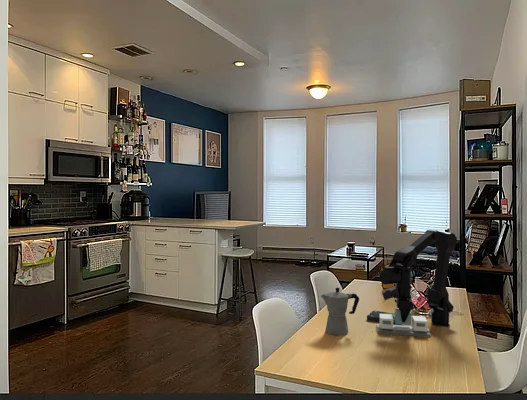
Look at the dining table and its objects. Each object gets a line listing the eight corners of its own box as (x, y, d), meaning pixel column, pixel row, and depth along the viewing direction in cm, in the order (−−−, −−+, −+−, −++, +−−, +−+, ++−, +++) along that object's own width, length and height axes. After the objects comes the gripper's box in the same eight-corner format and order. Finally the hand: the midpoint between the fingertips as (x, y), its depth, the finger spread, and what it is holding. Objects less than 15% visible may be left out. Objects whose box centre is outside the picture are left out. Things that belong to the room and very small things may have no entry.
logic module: (409, 321, 180) (409, 309, 180) (411, 325, 176) (411, 312, 176) (394, 320, 182) (394, 308, 182) (395, 324, 177) (395, 311, 177)
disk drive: (366, 322, 193) (401, 327, 186) (366, 315, 193) (401, 320, 186) (373, 316, 202) (406, 320, 195) (373, 310, 202) (406, 314, 195)
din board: (426, 329, 182) (426, 315, 182) (430, 337, 172) (430, 322, 172) (376, 325, 186) (376, 312, 186) (377, 333, 176) (378, 319, 176)
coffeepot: (322, 335, 172) (322, 290, 172) (319, 328, 182) (319, 284, 181) (361, 336, 173) (362, 290, 172) (356, 328, 182) (356, 285, 182)
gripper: (381, 276, 189) (381, 312, 190) (384, 286, 171) (383, 325, 171) (408, 278, 187) (408, 314, 187) (414, 287, 169) (413, 328, 169)
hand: (402, 320), depth 179 cm, fingers closed on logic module, 5 cm apart
